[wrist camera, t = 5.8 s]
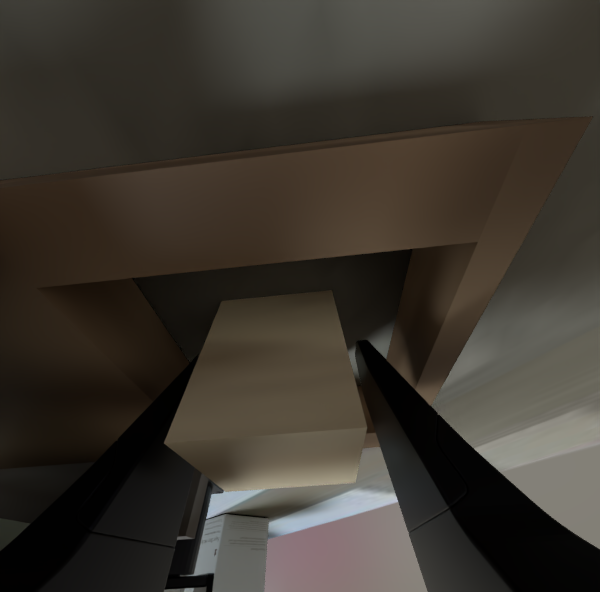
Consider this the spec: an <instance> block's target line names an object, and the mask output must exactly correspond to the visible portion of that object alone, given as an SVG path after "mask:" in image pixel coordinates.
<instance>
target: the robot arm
mask: <svg viewBox="0 0 600 592" xmlns="http://www.w3.org/2000/svg"><path fill="white" fill-rule="evenodd" d="M355 357H356V362H357V367H358V372H359V377H360V382H361V387H362V391H363V395H364V398H365V402H366V405H367V408H368V411H369V414H370V417H371V420H372V423H373V426H374V429H375V432H376V435H377V438H378V441H379V444H380V447H381V450H382V453H383V457H384V460H385V463H386V466H387V469H388V472H389V475H390V478H391V481H392V484H393V487H394V490H395V493H396V496H397V499H398V502H399V505H400V508H401V511H402V514H403V517H404V521H405V523H406V527H407V530H408V532H409V536H410V539H411V542H412V545H413V548H414V551H415V554H416V557H417V560H418V563H419V566H420V570H421V573H422V575H423V579H424V582H425V585H426V588H427V591H428V592H600V549H598V548H597V547H595V546H594V545H592V544H590V543H589V542H587V541H585V540H583V539H582V538H580V537H579V536H577V535H576V534H574V533H573V532H571V531H570V530H568V529H567V528H566V527H564V526H562V525H561V524H560V523H559V522H557V521H556V520H554V519H553V518H552V517H551V516H549V515H548V514H547V513H546V512H544V511H543V510H542V509H541V508H540V507H538V506H537V505H536V504H535V503H534V502H533V501H531V500H530V499H529V498H528V497H527V496H526V495H525V494H524V493H523V492H521V491H520V490H519V489H518V488H517V487H516V486H515V485H514V484H512V483H511V482H510V481H509V480H508V479H507V478H506V477H505V476H504V475H502V474H501V473H500V472H499V471H498V470H497V469H496V468H495V467H493V466H492V465H491V464H490V463H489V462H488V461H487V460H486V459H484V458H483V457H482V456H481V455H480V454H479V453H478V452H477V451H476V450H475V449H474V448H472V447H471V446H470V445H469V444H468V443H467V442H466V441H465V440H464V439H463V438H462V437H461V436H460V435H459V434H458V433H457V432H456V431H455V430H454V429H453V428H452V427H451V426H450V425H449V424H448V423H447V422H446V421H445V420H444V419H443V418H442V417H441V416H440V415H438V413H437V412H436V411H435V410H434V409H433V408H432V407H431V406H430V405H429V403H428V402H427V401H426V400H425V399H424V398H423V397H422V396H421V395H420V394H419V393H418V392H417V391H416V390H415V389H414V388H413V387H412V386H411V385H410V384H409V383H408V382H407V381H406V380H405V379H404V378H403V377H402V376H401V374H400V373H399V372H398V371H397V370H396V369H395V368H394V367H393V366H392V365H391V364H390V363H389V362H388V361H387V360H386V359H385V358H384V357H383V356H382V355H381V354H380V353H379V352H378V351H377V350H376V349H375V348H374V347H373V345H372V344H371V343H370V342H369V341H368V340H357V342H356V349H355ZM198 358H199V355H198V356H196V357H195V358H194V359H193V360H192V361H191V362H190V363H189V365H188V366H187V367H186V368H185V369H184V370H183V371H182V372H181V373H180V374H179V375H178V376H177V377H176V378H175V379H174V380H173V381H172V382H171V383H170V384H169V385H168V387H167V388H166V389H165V390H164V391H163V392H162V393H161V394H160V395H159V396H158V397H157V398H156V399H155V400H154V401H153V402H152V403H151V404H150V405H149V406H148V407H147V408H146V410H145V411H144V412H143V413H142V414H141V415H140V416H139V417H138V418H137V419H136V420H135V421H134V422H133V423H132V424H131V425H130V426H129V427H128V428H127V429H126V430H125V432H124V433H123V434H122V435H121V436H120V437H119V438H118V440H117V441H115V442H114V443H113V444H112V445H111V446H110V447H109V448H108V449H107V450H106V451H105V452H104V453H103V454H102V455H101V456H100V457H99V458H98V459H97V460H96V461H95V462H94V463H93V464H92V466H91V467H90V468H89V469H88V470H87V471H85V472H84V473H83V474H82V475H81V476H80V477H79V478H78V479H77V480H76V481H75V482H74V483H73V484H72V485H71V486H70V487H69V488H68V489H67V490H66V491H65V492H64V493H63V494H61V495H60V496H59V497H58V498H57V499H56V500H55V501H54V502H53V503H52V504H51V505H50V506H49V507H48V508H47V509H45V510H44V511H43V512H42V513H41V514H40V515H39V516H38V517H37V518H36V519H35V520H34V521H33V522H32V523H31V524H29V525H28V526H27V527H26V528H25V529H24V530H23V531H22V532H21V533H20V534H19V535H18V536H17V537H16V538H14V539H13V540H12V541H11V542H10V543H9V544H8V545H7V546H5V547H4V548H3V549H2V550H1V551H0V592H164V590H167V589H183V588H194V590H193V592H212V590H213V581H214V573H206V574H200V575H197V576H185V575H193V574H194V572H195V567H196V563H197V558H198V553H199V549H200V544H201V540H202V535H203V530H204V526H205V521H206V517H207V512H208V507H209V503H210V498H211V494H217V493H223V492H224V490H223V489H221V488H220V487H219V486H218V485H216V484H215V483H214V482H213V481H211V480H210V479H209V480H208V484H207V488H206V492H205V497H204V501H203V505H202V509H201V514H200V518H199V522H198V526H197V531H196V535H195V539H182V540H177V537H178V533H179V529H180V525H181V522H182V518H183V514H184V510H185V506H186V502H187V498H188V494H189V490H190V486H191V482H192V478H193V474H194V470H195V467H193V466H192V465H191V464H190V463H188V462H187V461H186V460H185V459H183V458H182V457H181V456H179V455H178V454H177V453H176V452H174V451H173V450H172V449H171V448H169V447H168V446H167V445H165V444H164V441H165V439H166V437H167V434H168V432H169V429H170V427H171V424H172V422H173V419H174V417H175V414H176V412H177V409H178V407H179V405H180V402H181V400H182V397H183V395H184V392H185V390H186V387H187V385H188V382H189V380H190V377H191V375H192V373H193V370H194V368H195V365H196V363H197V360H198Z"/></svg>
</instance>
